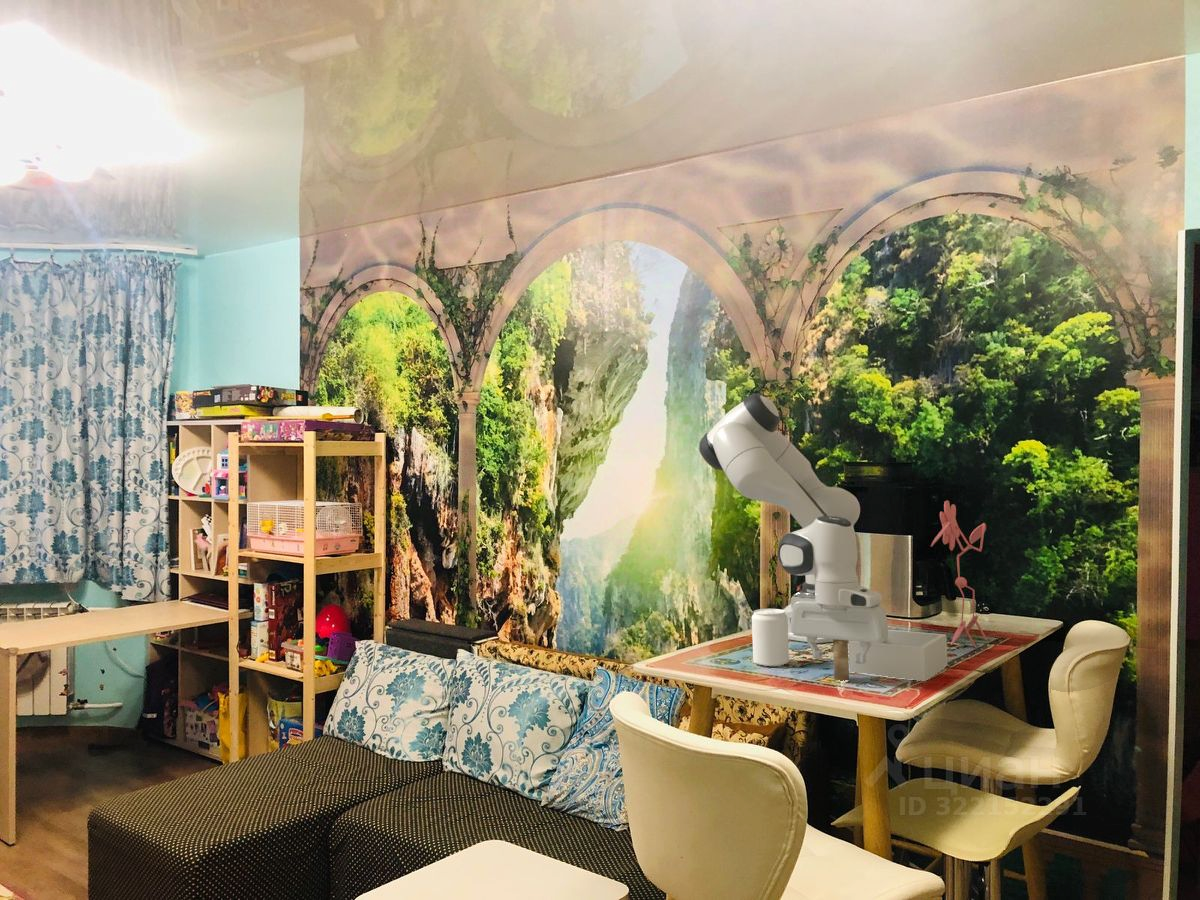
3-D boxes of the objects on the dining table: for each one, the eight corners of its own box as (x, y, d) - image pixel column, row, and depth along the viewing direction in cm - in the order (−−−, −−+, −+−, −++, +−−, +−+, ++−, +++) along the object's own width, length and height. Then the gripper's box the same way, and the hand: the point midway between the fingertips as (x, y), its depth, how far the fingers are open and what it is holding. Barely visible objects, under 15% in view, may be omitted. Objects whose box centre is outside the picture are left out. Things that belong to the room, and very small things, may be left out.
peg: (832, 682, 189) (830, 634, 189) (837, 678, 191) (835, 631, 191) (846, 683, 187) (844, 635, 187) (851, 680, 189) (849, 632, 189)
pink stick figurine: (1000, 634, 230) (991, 496, 231) (968, 654, 210) (958, 503, 211) (939, 630, 239) (930, 498, 240) (903, 648, 219) (893, 504, 220)
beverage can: (746, 662, 210) (744, 610, 210) (776, 658, 213) (774, 607, 213) (766, 669, 202) (764, 615, 202) (796, 664, 205) (794, 611, 205)
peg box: (849, 673, 195) (848, 641, 195) (875, 659, 208) (874, 628, 208) (925, 682, 186) (923, 648, 186) (947, 666, 199) (946, 634, 199)
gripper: (784, 593, 193) (786, 658, 193) (878, 599, 181) (881, 669, 181) (797, 589, 198) (799, 652, 198) (889, 595, 186) (892, 662, 186)
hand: (839, 660), depth 189 cm, fingers open, 8 cm apart
